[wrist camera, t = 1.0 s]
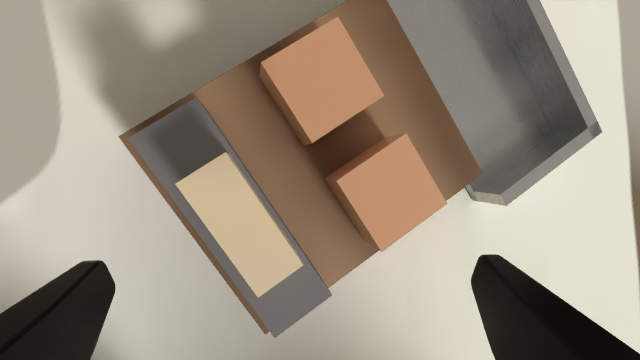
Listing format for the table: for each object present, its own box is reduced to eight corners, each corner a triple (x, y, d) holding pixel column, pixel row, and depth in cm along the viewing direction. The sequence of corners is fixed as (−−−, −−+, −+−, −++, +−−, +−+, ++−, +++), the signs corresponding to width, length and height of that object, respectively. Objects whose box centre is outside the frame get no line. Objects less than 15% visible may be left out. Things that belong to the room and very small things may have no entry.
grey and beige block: (270, 307, 17) (277, 362, 12) (151, 143, 15) (107, 133, 11) (318, 273, 17) (343, 313, 13) (206, 109, 16) (187, 86, 11)
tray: (472, 200, 22) (506, 205, 19) (341, -31, 20) (357, -65, 17) (558, 135, 24) (602, 131, 21) (445, -91, 21) (476, -132, 18)
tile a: (363, 239, 18) (381, 252, 15) (324, 178, 17) (336, 180, 15) (421, 198, 18) (447, 203, 16) (384, 137, 18) (406, 133, 15)
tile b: (303, 146, 17) (312, 143, 14) (259, 77, 16) (260, 62, 14) (365, 105, 17) (384, 95, 15) (325, 37, 17) (338, 16, 14)
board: (263, 309, 20) (265, 334, 17) (140, 141, 18) (118, 136, 15) (452, 172, 22) (482, 173, 19) (359, 9, 20) (377, -17, 17)
